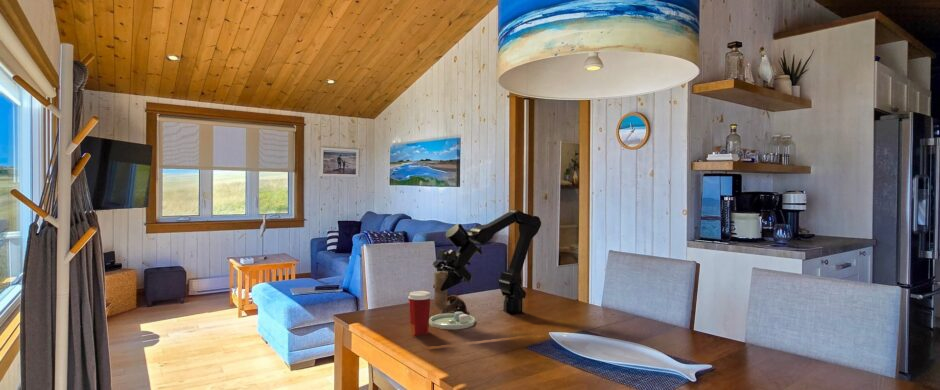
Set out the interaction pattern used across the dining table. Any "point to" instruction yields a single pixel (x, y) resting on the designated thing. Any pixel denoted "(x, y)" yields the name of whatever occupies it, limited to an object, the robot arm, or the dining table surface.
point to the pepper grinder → (440, 296)
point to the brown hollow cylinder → (454, 304)
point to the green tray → (449, 321)
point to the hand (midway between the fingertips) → (437, 289)
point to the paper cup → (419, 312)
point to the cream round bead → (463, 318)
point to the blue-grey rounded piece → (457, 315)
